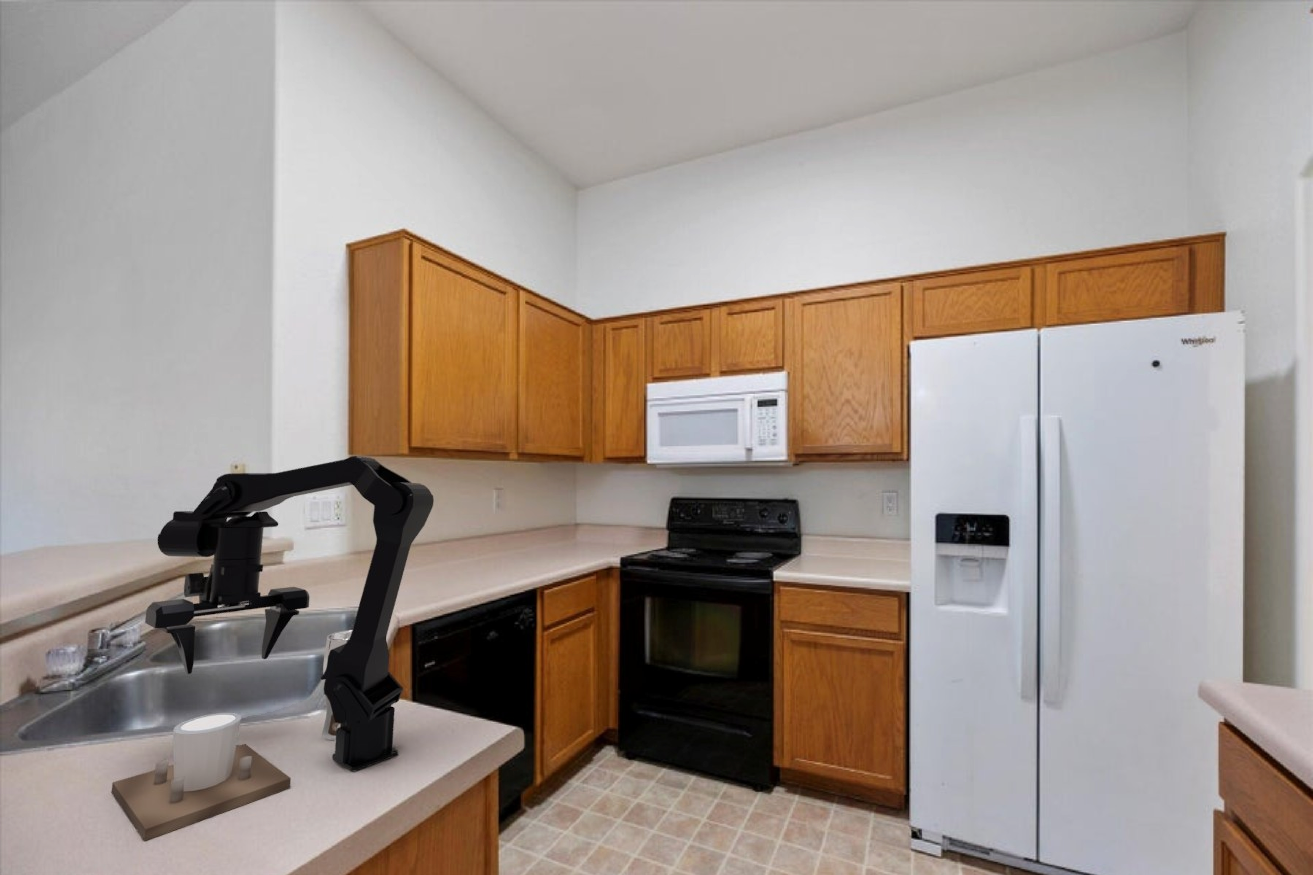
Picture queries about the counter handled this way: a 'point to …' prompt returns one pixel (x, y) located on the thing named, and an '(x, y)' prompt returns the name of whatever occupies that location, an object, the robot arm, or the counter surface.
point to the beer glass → (332, 642)
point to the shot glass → (205, 749)
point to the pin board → (194, 793)
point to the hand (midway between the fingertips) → (228, 665)
